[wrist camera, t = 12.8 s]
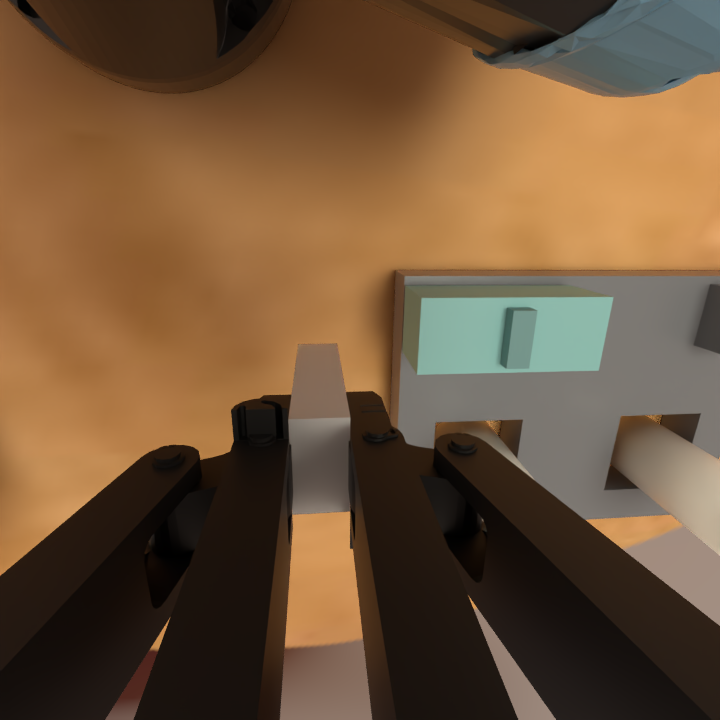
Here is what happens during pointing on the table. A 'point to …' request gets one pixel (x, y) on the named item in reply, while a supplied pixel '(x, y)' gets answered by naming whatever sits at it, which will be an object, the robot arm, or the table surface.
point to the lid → (504, 328)
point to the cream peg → (671, 474)
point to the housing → (582, 383)
